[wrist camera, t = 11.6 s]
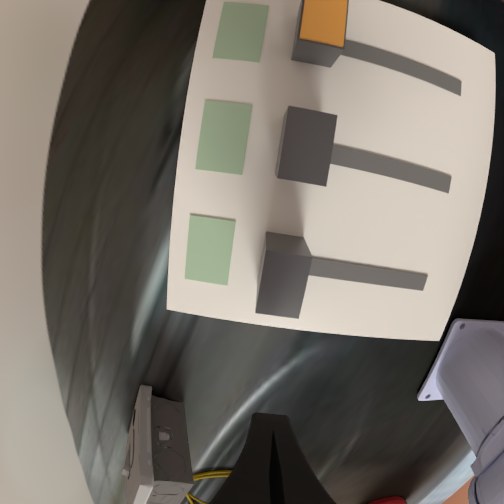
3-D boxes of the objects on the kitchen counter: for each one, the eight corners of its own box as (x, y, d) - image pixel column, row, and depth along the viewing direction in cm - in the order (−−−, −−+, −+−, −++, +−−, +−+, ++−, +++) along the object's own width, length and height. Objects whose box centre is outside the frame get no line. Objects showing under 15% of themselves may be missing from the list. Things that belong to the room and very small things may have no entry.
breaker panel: (478, 58, 14) (525, 43, 9) (427, 326, 20) (460, 368, 15) (217, -12, 14) (203, -57, 9) (175, 295, 20) (148, 339, 15)
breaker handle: (335, 20, 12) (350, -6, 9) (330, 67, 13) (345, 48, 10) (297, 12, 12) (304, -16, 9) (291, 60, 13) (297, 38, 10)
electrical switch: (142, 378, 22) (112, 472, 14) (203, 397, 23) (195, 495, 14) (128, 437, 25) (108, 513, 16) (177, 452, 26) (168, 529, 17)
